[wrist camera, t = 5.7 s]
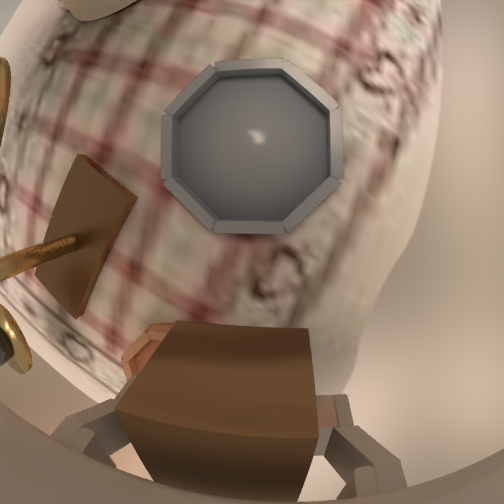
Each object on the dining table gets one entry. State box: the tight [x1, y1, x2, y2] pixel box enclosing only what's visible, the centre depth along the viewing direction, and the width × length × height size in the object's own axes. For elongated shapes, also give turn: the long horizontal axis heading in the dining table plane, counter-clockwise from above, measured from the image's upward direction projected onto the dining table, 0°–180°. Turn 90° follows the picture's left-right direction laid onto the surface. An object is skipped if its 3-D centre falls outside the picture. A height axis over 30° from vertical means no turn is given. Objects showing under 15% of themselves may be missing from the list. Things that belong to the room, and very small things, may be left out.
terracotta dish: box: [121, 323, 175, 381], centre depth 23 cm, size 12×12×2 cm
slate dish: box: [161, 58, 343, 234], centre depth 17 cm, size 12×12×2 cm
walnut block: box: [114, 321, 319, 502], centre depth 8 cm, size 5×5×5 cm
